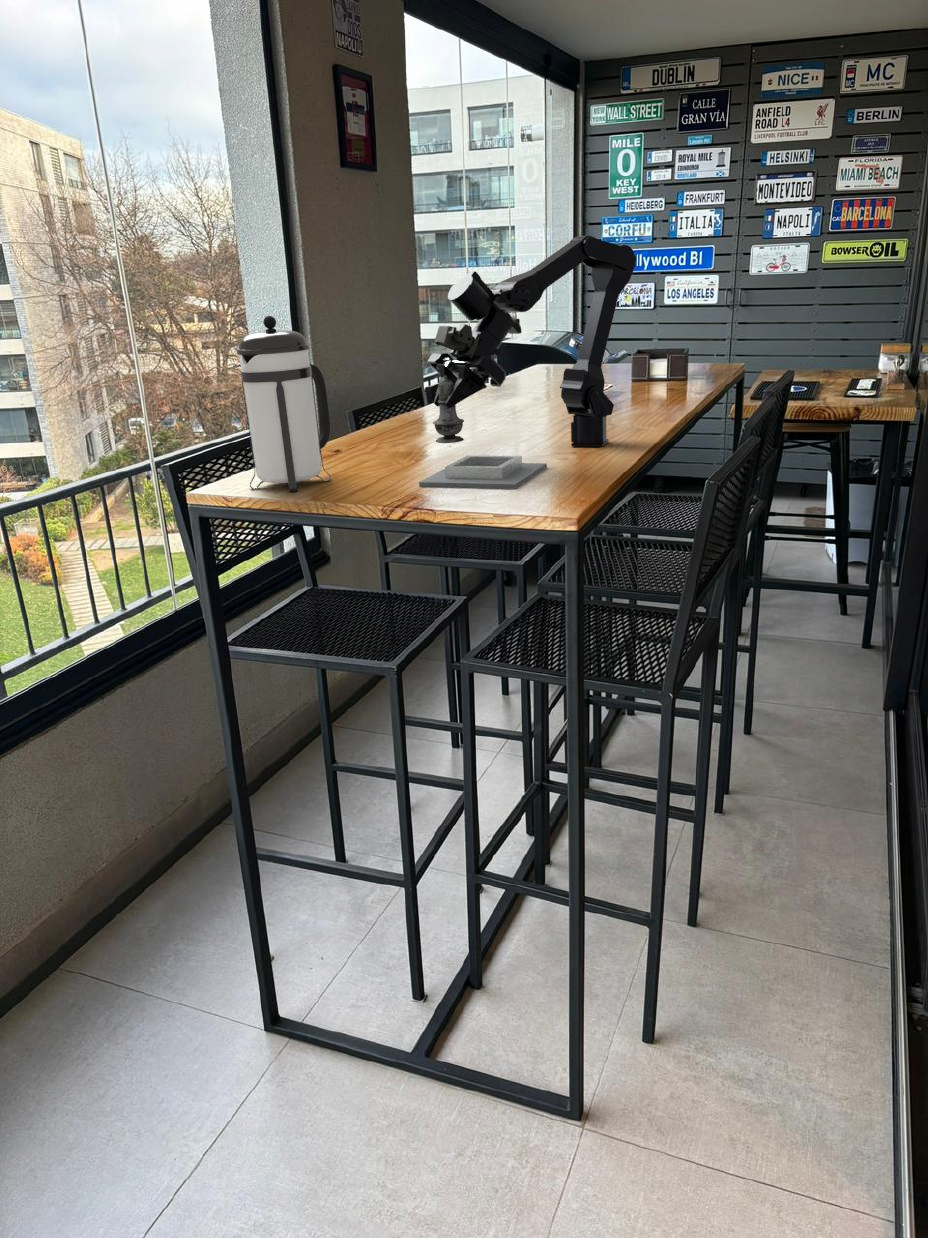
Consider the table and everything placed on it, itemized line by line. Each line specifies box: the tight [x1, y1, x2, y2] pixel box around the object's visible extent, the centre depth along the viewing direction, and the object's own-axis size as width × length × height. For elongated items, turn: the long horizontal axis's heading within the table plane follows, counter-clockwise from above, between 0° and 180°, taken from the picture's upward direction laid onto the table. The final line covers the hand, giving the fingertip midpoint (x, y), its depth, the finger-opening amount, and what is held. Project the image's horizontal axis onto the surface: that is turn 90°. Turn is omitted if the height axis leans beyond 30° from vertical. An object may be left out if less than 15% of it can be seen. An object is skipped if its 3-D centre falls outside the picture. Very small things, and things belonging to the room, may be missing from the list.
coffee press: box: [235, 315, 331, 493], centre depth 165 cm, size 17×16×30 cm
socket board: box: [418, 462, 548, 490], centre depth 165 cm, size 18×18×1 cm
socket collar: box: [444, 455, 523, 479], centre depth 164 cm, size 11×11×2 cm
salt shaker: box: [432, 375, 465, 444], centre depth 168 cm, size 6×6×12 cm
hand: (441, 405), depth 167 cm, fingers closed on salt shaker, 4 cm apart
